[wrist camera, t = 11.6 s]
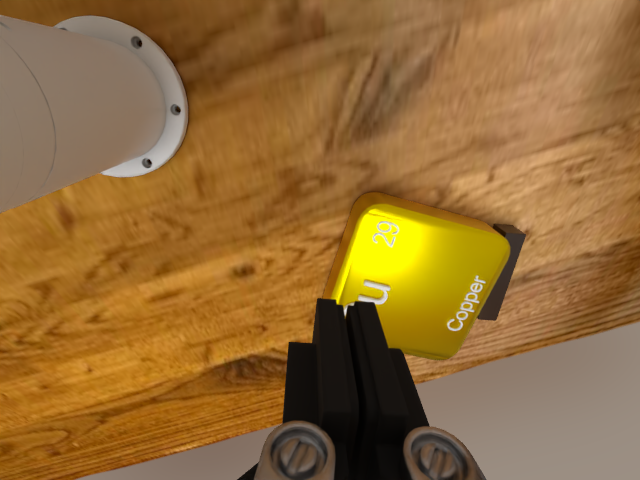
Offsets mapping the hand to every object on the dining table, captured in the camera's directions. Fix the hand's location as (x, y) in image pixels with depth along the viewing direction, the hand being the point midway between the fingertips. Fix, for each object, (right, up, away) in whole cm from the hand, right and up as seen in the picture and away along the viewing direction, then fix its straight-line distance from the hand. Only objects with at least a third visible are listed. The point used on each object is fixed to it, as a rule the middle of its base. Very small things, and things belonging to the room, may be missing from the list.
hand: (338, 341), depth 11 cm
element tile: (+8, 0, +28) cm, 29 cm away
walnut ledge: (+18, 0, +28) cm, 33 cm away
